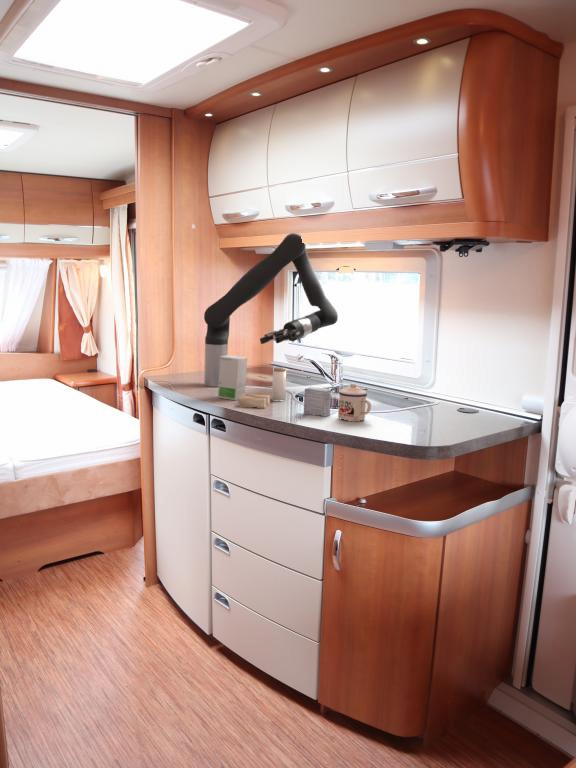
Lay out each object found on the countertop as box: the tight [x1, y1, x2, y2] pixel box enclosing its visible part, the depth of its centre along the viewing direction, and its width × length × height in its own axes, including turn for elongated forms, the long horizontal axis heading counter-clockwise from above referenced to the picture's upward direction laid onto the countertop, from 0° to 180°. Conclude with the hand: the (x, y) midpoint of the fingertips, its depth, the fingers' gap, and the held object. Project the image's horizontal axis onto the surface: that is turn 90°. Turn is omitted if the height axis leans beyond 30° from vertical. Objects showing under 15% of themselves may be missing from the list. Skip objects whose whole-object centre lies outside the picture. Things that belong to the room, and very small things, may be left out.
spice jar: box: [271, 366, 287, 401], centre depth 226 cm, size 5×5×12 cm
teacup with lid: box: [337, 382, 372, 422], centre depth 198 cm, size 12×9×12 cm
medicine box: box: [303, 386, 332, 417], centre depth 204 cm, size 8×4×9 cm, turn 59°
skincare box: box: [217, 354, 248, 401], centre depth 226 cm, size 8×7×16 cm
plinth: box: [238, 393, 271, 409], centre depth 215 cm, size 9×9×3 cm
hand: (268, 341), depth 228 cm, fingers open, 8 cm apart
